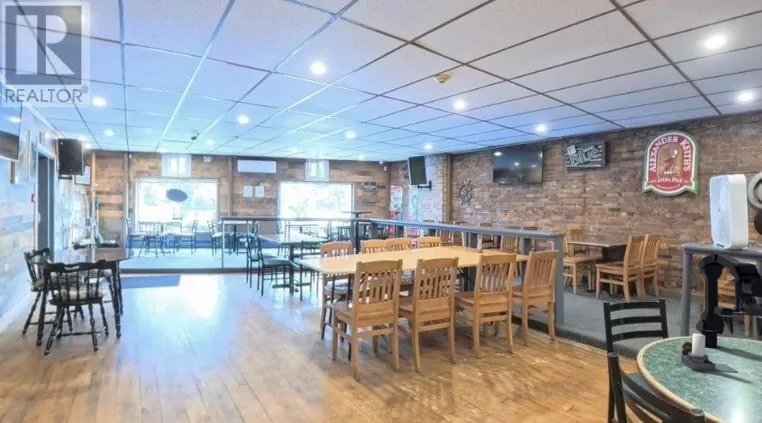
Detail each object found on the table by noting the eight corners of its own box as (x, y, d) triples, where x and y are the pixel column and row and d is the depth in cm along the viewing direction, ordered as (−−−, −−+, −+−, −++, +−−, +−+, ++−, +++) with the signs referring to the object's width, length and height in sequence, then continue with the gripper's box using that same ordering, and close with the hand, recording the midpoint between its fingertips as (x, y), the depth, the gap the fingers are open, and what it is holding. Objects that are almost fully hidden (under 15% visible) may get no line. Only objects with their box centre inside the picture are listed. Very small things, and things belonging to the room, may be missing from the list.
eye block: (681, 362, 172) (681, 355, 172) (702, 363, 171) (702, 356, 171) (692, 370, 164) (693, 362, 164) (715, 371, 163) (715, 364, 163)
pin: (684, 363, 171) (685, 332, 170) (701, 364, 170) (702, 332, 170) (693, 369, 165) (695, 337, 164) (711, 370, 164) (713, 338, 163)
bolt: (690, 353, 187) (691, 363, 174) (678, 346, 189) (679, 355, 177) (699, 343, 185) (701, 353, 173) (687, 336, 187) (688, 345, 175)
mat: (706, 364, 170) (706, 363, 170) (725, 365, 169) (725, 364, 169) (718, 371, 163) (718, 370, 163) (738, 372, 162) (738, 371, 162)
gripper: (727, 295, 160) (729, 336, 159) (786, 298, 156) (788, 341, 154) (712, 292, 171) (713, 331, 170) (767, 295, 166) (768, 335, 165)
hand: (745, 334), depth 164 cm, fingers open, 9 cm apart
